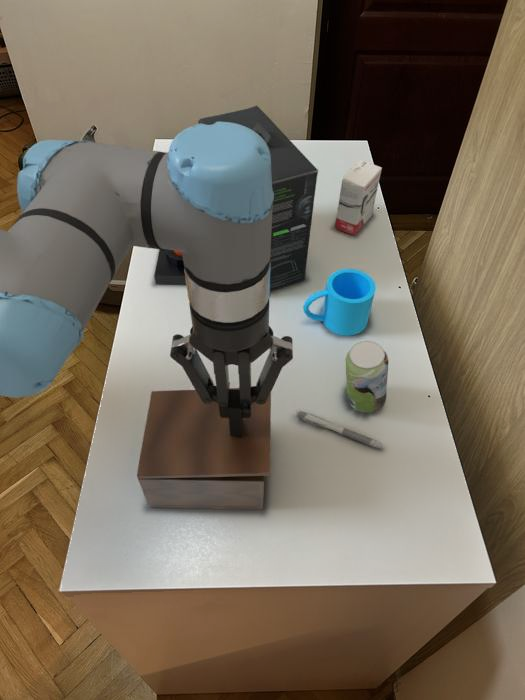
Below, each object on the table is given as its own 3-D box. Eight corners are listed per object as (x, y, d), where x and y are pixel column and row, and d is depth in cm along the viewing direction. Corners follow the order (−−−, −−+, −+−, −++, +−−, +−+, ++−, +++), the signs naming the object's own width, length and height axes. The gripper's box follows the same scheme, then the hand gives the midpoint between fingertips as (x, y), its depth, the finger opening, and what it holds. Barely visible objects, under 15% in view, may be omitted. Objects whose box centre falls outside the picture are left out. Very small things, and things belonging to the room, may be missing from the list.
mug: (360, 299, 98) (367, 266, 91) (373, 332, 93) (382, 300, 86) (296, 306, 96) (299, 273, 90) (306, 340, 91) (310, 308, 85)
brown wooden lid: (271, 389, 72) (270, 386, 72) (270, 475, 64) (269, 472, 64) (152, 394, 73) (151, 391, 73) (138, 478, 65) (136, 476, 65)
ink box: (354, 237, 109) (364, 187, 100) (333, 228, 111) (341, 178, 101) (372, 215, 114) (383, 166, 104) (352, 207, 115) (361, 158, 106)
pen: (297, 412, 82) (297, 407, 81) (383, 447, 79) (385, 442, 78) (294, 417, 82) (295, 412, 81) (381, 453, 78) (383, 448, 77)
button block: (155, 284, 100) (152, 268, 96) (164, 242, 107) (161, 226, 104) (208, 285, 100) (207, 269, 96) (213, 243, 107) (212, 227, 104)
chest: (264, 429, 80) (265, 396, 73) (263, 509, 72) (264, 481, 66) (161, 427, 80) (152, 394, 73) (148, 507, 72) (137, 479, 66)
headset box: (307, 281, 101) (321, 157, 80) (250, 300, 97) (249, 176, 77) (256, 214, 113) (257, 92, 93) (204, 229, 110) (193, 106, 90)
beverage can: (389, 413, 82) (406, 366, 73) (343, 419, 82) (354, 373, 72) (377, 380, 86) (392, 332, 77) (333, 386, 85) (342, 338, 76)
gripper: (298, 270, 52) (287, 403, 70) (164, 267, 52) (188, 401, 70) (300, 328, 47) (288, 454, 65) (153, 325, 47) (182, 452, 65)
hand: (236, 427), depth 68 cm, fingers closed
